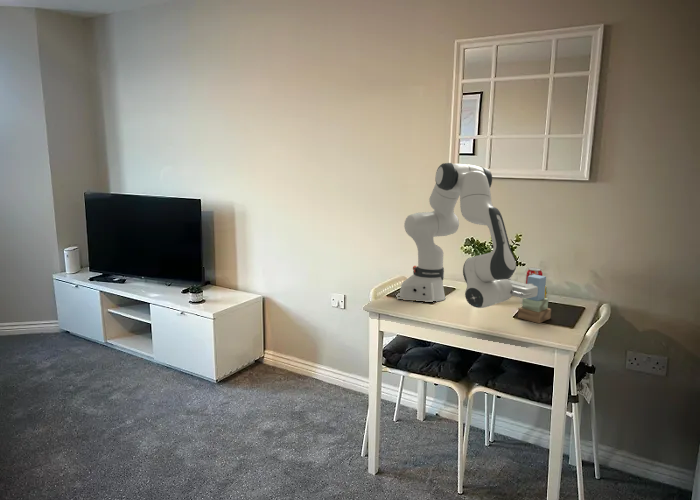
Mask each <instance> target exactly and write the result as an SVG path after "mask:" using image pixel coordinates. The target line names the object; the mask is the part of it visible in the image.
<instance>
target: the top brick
mask: <svg viewBox="0 0 700 500" xmlns="http://www.w3.org/2000/svg"><path fill="white" fill-rule="evenodd" d="M546 281H547V276H544V275H542V276H540V275H535V274H534V275H530V276H528V279H527V284H529V283H531V284H534V286H537V287H538V293H537V296H536V297H532V298H526V299H531V300H535V301H540V300H543V299H544V298H545V297H546V296H545V286H547V285H546V283H547V282H546Z"/></svg>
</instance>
